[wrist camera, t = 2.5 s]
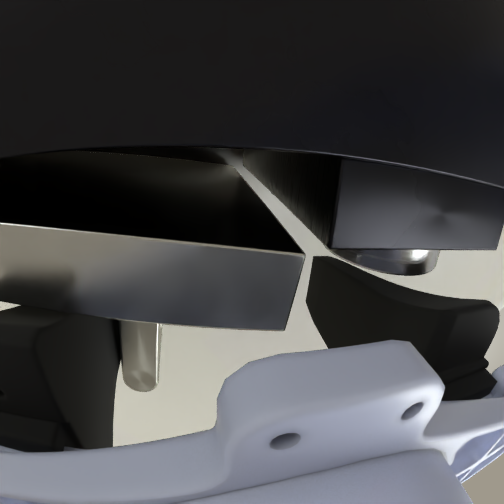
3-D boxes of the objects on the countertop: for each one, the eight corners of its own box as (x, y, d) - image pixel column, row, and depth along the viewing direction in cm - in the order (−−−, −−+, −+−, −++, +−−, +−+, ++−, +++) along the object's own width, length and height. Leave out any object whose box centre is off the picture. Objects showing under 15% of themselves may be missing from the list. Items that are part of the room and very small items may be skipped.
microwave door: (212, 296, 16) (241, 465, 8) (-4, 270, 14) (-97, 388, 5) (233, 166, 14) (307, 253, 5) (-12, 149, 11) (-156, 207, 2)
